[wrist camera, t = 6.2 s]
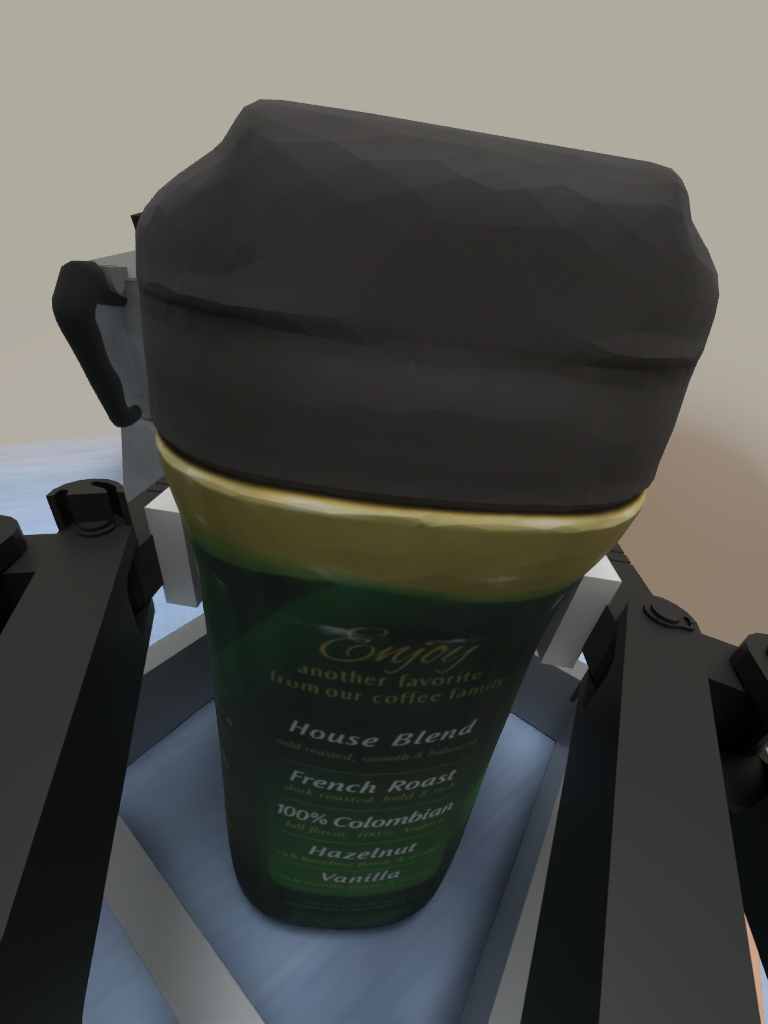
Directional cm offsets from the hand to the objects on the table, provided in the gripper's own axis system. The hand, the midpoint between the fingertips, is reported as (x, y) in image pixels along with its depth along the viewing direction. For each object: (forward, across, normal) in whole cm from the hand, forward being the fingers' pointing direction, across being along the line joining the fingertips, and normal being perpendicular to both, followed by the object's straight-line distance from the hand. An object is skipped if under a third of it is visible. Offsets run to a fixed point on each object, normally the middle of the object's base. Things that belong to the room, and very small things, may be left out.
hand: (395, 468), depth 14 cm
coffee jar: (-5, 0, -11) cm, 12 cm away
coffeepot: (+13, -16, -11) cm, 24 cm away
